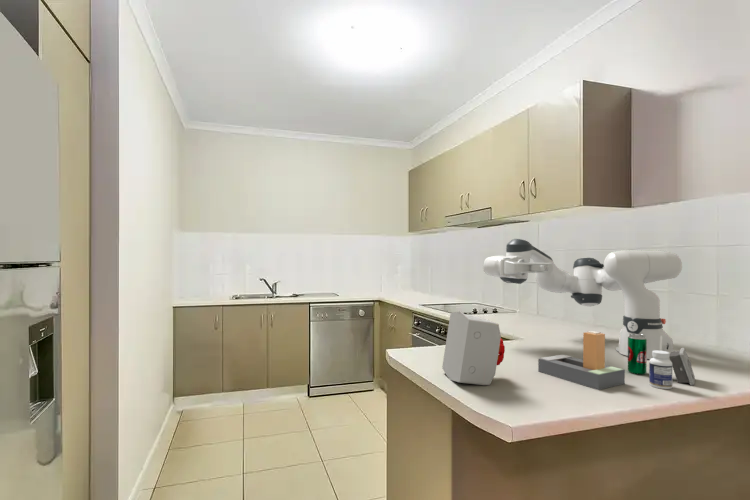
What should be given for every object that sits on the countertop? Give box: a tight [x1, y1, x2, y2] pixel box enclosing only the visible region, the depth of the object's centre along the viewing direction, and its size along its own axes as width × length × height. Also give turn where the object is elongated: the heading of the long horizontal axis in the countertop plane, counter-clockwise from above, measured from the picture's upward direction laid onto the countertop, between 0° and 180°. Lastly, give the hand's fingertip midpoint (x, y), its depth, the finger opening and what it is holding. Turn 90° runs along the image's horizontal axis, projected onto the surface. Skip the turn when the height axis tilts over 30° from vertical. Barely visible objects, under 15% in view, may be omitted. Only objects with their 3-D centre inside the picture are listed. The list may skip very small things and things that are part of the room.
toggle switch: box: [537, 354, 626, 391], centre depth 126 cm, size 12×20×4 cm, turn 29°
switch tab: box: [582, 330, 606, 370], centre depth 122 cm, size 4×4×13 cm
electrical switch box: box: [441, 310, 506, 386], centre depth 123 cm, size 15×15×20 cm
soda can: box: [627, 334, 648, 376], centre depth 131 cm, size 5×5×12 cm
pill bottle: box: [648, 350, 673, 390], centre depth 118 cm, size 5×5×10 cm
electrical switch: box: [669, 347, 696, 386], centre depth 124 cm, size 9×5×9 cm, turn 141°
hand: (546, 268), depth 150 cm, fingers closed
